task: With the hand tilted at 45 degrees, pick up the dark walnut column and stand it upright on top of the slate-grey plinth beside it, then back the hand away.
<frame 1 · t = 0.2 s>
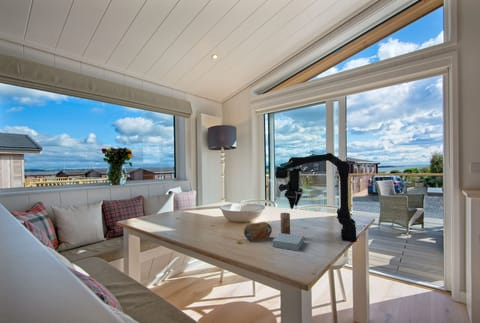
hand: (293, 207, 130), 14 cm above the table, tool pointing down, fingers open, 9 cm apart
slate plinth: (288, 244, 113), on the table
tin: (257, 239, 122), on the table
walnut column: (285, 235, 125), on the table
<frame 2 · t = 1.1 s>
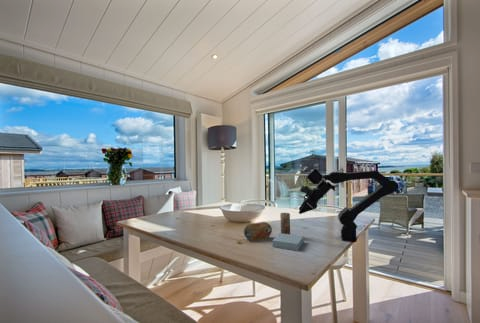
hand: (299, 211, 124), 13 cm above the table, tool tilted 45°, fingers open, 9 cm apart
nothing on the table moved.
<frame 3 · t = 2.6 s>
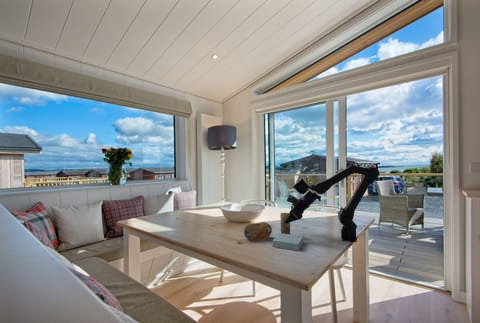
hand: (285, 220, 125), 8 cm above the table, tool tilted 45°, fingers open, 9 cm apart
nothing on the table moved.
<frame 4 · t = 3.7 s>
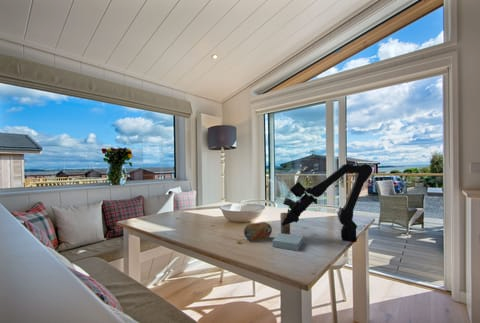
hand: (282, 223, 126), 7 cm above the table, tool tilted 45°, fingers closed on walnut column, 5 cm apart
walnut column: (285, 235, 125), on the table, touching gripper
everything else where it was.
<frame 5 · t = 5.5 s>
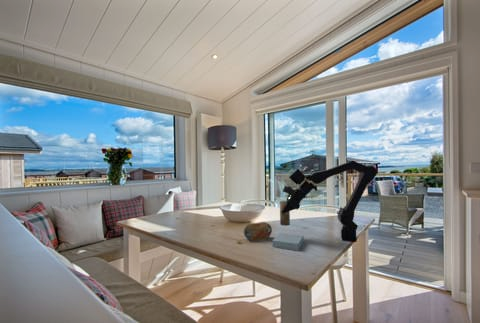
hand: (282, 211, 123), 13 cm above the table, tool tilted 45°, fingers closed on walnut column, 5 cm apart
walnut column: (285, 224, 123), point 7 cm above the table, touching gripper
everything else where it was.
when the fingers open (11 cm above the table, at t = 7.3 s): walnut column drops 1 cm, resting on slate plinth.
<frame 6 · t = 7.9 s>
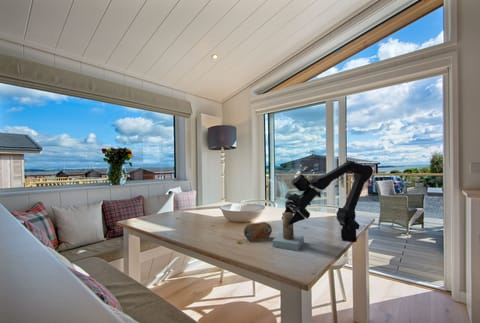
hand: (285, 221, 112), 11 cm above the table, tool tilted 45°, fingers open, 9 cm apart
walnut column: (288, 238, 113), point 3 cm above the table, touching slate plinth
everything else where it was.
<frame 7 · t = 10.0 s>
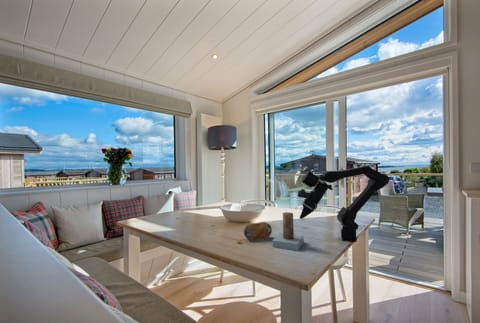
hand: (301, 218, 119), 11 cm above the table, tool tilted 35°, fingers open, 9 cm apart
nothing on the table moved.
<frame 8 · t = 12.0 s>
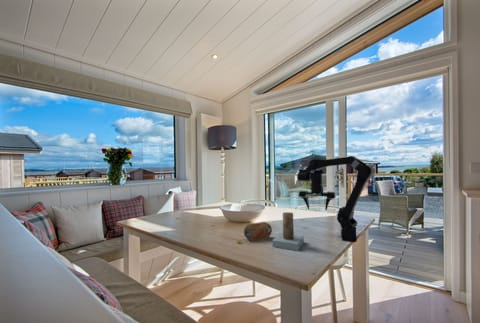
hand: (317, 209, 128), 13 cm above the table, tool pointing down, fingers open, 9 cm apart
nothing on the table moved.
at the end: walnut column 0.0 cm off-centre on the slate plinth, point 3.0 cm above the slate plinth's base; walnut column tilted 0°; the gripper is holding nothing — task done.
